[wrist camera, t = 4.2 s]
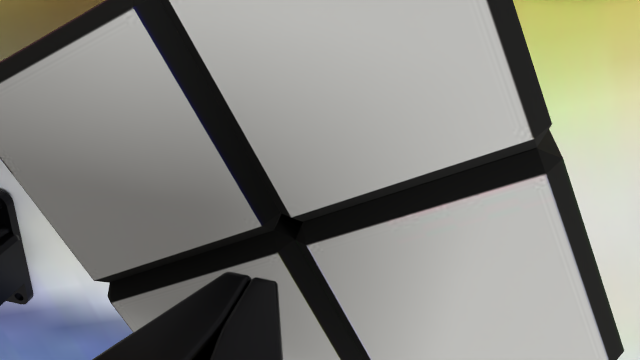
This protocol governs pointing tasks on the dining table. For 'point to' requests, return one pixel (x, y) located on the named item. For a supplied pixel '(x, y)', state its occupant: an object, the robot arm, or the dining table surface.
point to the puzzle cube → (314, 172)
